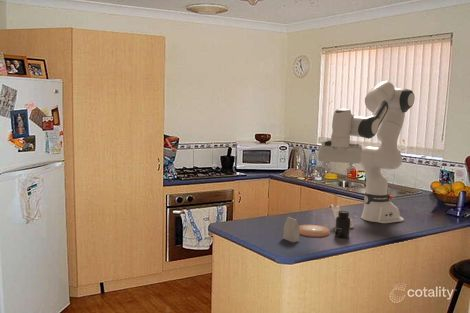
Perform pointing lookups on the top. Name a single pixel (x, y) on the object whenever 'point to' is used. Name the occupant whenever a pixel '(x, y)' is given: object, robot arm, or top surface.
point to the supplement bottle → (342, 225)
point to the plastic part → (338, 215)
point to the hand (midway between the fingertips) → (337, 171)
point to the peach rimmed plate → (314, 230)
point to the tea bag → (291, 230)
